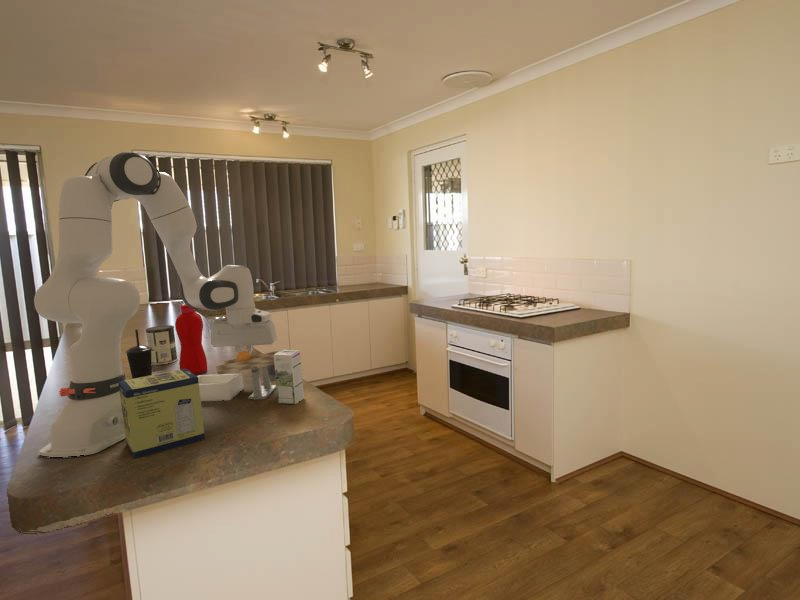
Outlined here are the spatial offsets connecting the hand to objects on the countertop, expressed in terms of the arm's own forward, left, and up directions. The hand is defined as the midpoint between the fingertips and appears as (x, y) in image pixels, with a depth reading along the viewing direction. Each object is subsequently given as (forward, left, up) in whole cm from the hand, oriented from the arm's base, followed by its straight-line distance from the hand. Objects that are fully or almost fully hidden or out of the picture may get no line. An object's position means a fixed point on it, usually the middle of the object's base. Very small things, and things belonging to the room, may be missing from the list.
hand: (245, 359), depth 157 cm
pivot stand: (-7, -7, -9) cm, 14 cm away
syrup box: (-16, -18, -9) cm, 26 cm away
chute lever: (-4, -6, -5) cm, 9 cm away
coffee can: (+40, +49, -9) cm, 64 cm away
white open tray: (-7, +8, -9) cm, 14 cm away
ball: (-7, -2, +2) cm, 8 cm away
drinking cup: (+1, +35, -9) cm, 36 cm away
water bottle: (+22, +27, -9) cm, 36 cm away
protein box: (-42, +5, -9) cm, 43 cm away
